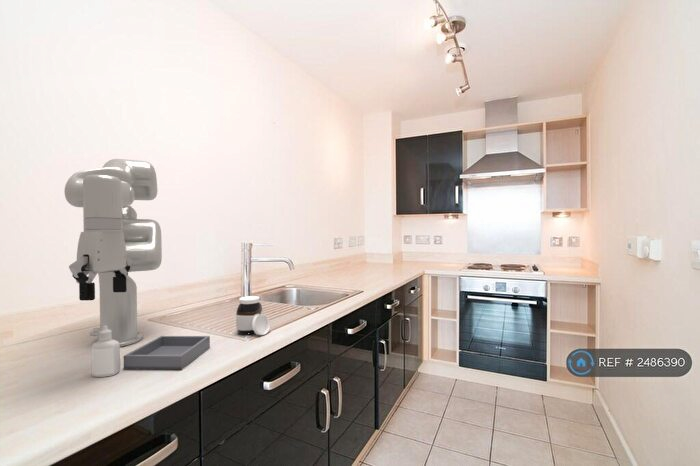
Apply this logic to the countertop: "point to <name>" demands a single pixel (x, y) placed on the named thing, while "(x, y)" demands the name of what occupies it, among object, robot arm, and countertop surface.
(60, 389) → the countertop surface
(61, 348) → the countertop surface
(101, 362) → the eye dropper bottle
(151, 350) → the dish
